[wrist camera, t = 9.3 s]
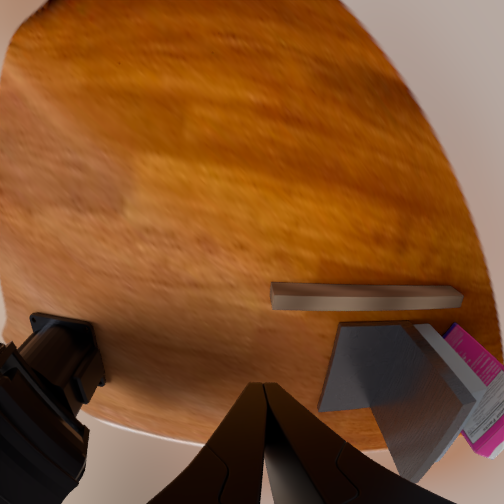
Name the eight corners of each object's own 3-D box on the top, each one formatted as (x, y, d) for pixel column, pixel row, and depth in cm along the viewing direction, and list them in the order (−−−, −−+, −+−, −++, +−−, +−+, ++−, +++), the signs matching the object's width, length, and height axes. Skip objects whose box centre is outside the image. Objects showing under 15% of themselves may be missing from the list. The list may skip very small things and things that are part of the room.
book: (380, 396, 24) (415, 468, 16) (406, 324, 22) (464, 395, 13) (401, 393, 24) (439, 460, 16) (428, 323, 22) (487, 388, 14)
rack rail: (269, 295, 21) (272, 309, 19) (271, 282, 20) (273, 295, 18) (447, 296, 21) (460, 307, 19) (450, 285, 21) (463, 295, 19)
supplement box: (476, 343, 23) (540, 412, 12) (437, 386, 25) (489, 463, 14) (455, 318, 22) (533, 394, 11) (411, 366, 23) (471, 457, 13)
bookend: (317, 407, 24) (342, 500, 15) (338, 322, 21) (390, 422, 12) (379, 401, 24) (417, 482, 15) (409, 320, 22) (476, 400, 12)
